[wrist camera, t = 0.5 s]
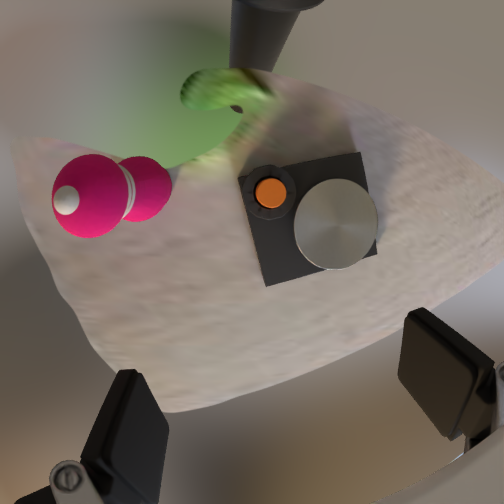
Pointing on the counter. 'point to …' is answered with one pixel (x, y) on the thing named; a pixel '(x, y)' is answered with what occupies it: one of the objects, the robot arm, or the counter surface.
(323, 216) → the weighing plate
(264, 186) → the button
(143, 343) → the counter surface
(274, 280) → the scale
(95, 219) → the pepper mill
